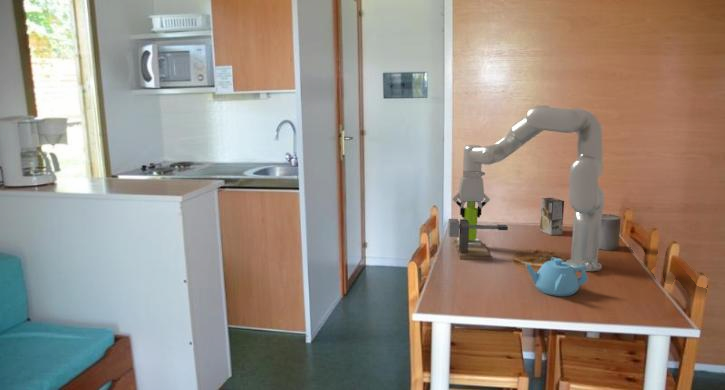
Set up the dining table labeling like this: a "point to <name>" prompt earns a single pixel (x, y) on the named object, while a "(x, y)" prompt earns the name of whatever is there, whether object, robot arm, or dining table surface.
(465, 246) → the base
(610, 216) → the pillar candle
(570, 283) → the teapot
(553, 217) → the coffee box
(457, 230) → the lever
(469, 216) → the soap dispenser
